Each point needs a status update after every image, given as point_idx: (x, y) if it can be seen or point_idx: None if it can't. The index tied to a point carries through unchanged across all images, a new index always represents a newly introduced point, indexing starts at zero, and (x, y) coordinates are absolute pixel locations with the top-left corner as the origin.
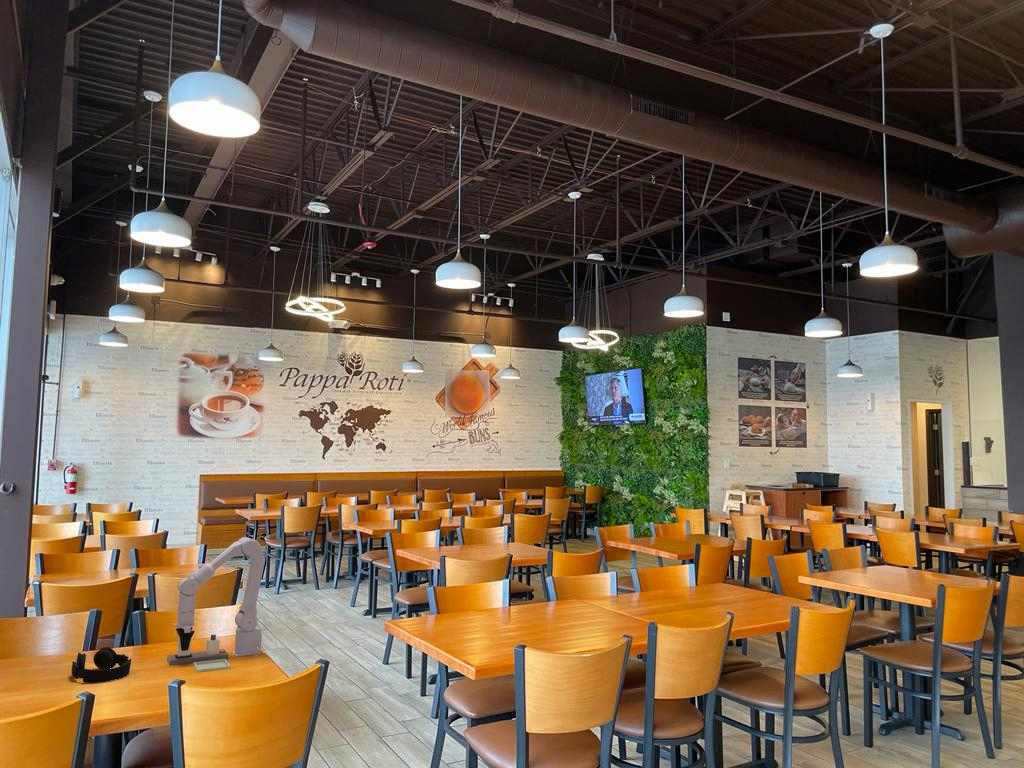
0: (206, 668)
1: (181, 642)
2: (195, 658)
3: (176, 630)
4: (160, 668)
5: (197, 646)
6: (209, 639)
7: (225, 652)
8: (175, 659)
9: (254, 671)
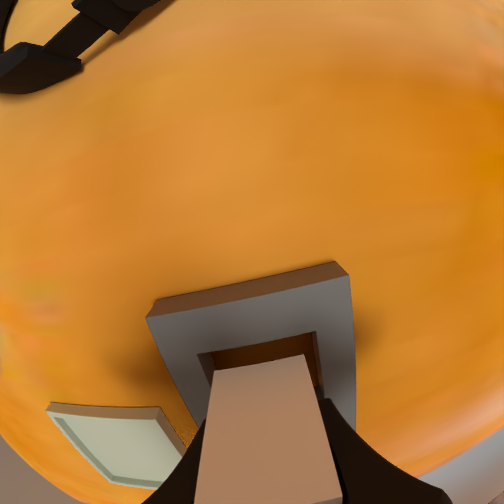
0: (68, 436)
1: (175, 473)
2: None
3: (420, 499)
4: (118, 246)
5: None
6: None
7: None
8: (177, 350)
9: (104, 494)
